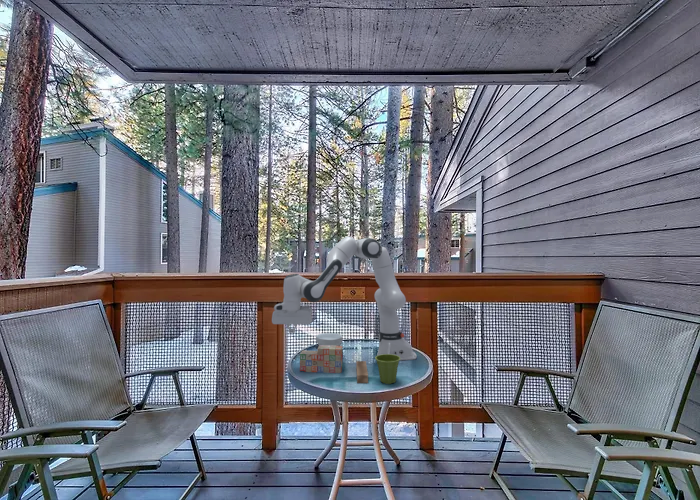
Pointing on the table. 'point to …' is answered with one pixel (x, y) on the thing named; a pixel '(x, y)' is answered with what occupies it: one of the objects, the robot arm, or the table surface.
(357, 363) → the board
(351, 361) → the table surface
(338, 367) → the stack of blocks
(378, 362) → the plant pot
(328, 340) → the cereal bowl
